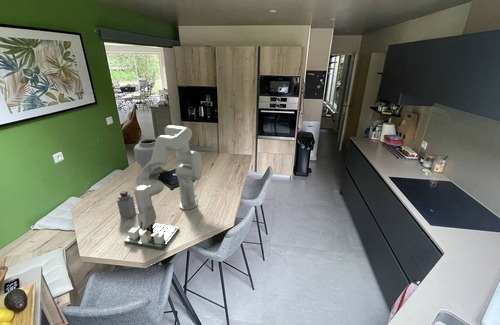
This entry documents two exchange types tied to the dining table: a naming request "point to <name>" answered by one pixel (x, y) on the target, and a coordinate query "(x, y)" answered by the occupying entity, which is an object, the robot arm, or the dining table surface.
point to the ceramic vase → (145, 153)
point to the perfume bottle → (126, 205)
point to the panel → (168, 232)
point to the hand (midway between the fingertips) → (150, 233)
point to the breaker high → (159, 237)
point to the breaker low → (133, 233)
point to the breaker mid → (145, 236)
